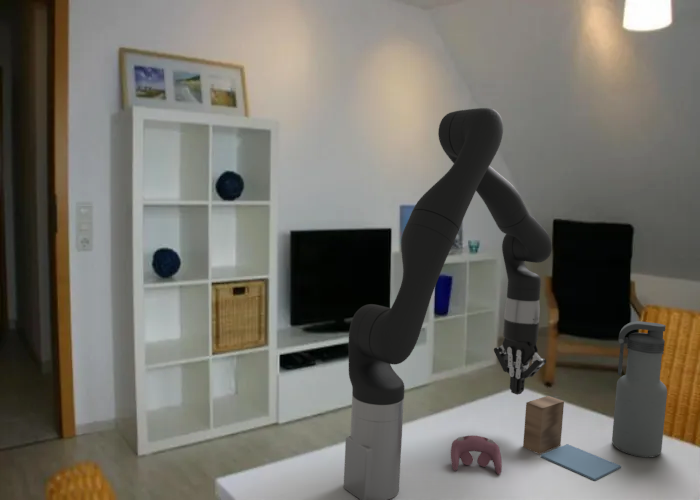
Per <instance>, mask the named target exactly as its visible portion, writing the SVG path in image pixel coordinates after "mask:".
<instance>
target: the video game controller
mask: <svg viewBox="0 0 700 500" xmlns="http://www.w3.org/2000/svg"><path fill="white" fill-rule="evenodd" d="M471 452H479V453H480V454H479V455H478V456H477V464H478V465H479V466H480V467H484V468H485V467H487V466H488V465H489V463H490V462H491V461H492V463H493V466H494V469H495V470H494V471H495V473H496V474H497V475H500V474H501V473H502V469H503V467H502V466H503V465H502V454H501V449H500V447H499V445H498V443H497V442H496V441H494V440H493V439H491V438H488V437H485V436H480V435H466V436H459V437H458V438H456V439H454V440H453V441H452V444H451V448H450V461H451V467H452V470H453V471H454V472H455V471H457V470H458V468H459V466H460V460H461V463H462V464H463V465H466V466H470V465H472V464H473V462H474V456H473V455H472V454H471Z"/></svg>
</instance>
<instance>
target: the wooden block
mask: <svg viewBox="0 0 700 500" xmlns="http://www.w3.org/2000/svg"><path fill="white" fill-rule="evenodd" d="M564 405H565V400H561V399H559V398H555V397H553V396H550V395H546V396H543V397H539V398H536V399H533V400H530V401H527V402H525V414H524V415H525V418H524V431H523V443H522V448H524V449H527V450H529V451H531V452H533V453H536V454H538V455H542V454H544V453H546V452H549V451H551V450H554V449H556V448H559V447H561V443H562V431H563V419H564V407H565V406H564Z"/></svg>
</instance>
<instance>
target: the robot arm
mask: <svg viewBox="0 0 700 500" xmlns="http://www.w3.org/2000/svg"><path fill="white" fill-rule="evenodd" d="M503 134H504V122H503V118H502V116H501V114H500V113H499V112H498V111H497V110H496V109H493V108H488V107H480V108H469V109H462V110H460V109H459V110H456V111H451V112H448V113H446V114H445V115H444V116H443V117H442V118H441V120H440V123H439V126H438V135H437V136H438V141H439V144H440V145H441V148H442V149H443V152H444V153H445V154H446V156H447V157H448V159H449V160H450V161H451V162H452V163H453V164H452V166H451V167H450V168H449V170H448V171H447V172H446V173H445V174H444V175H443V176H441V178H440V179H439V180H437V182H436V183H434V184H433V185H432V186H431V187H430V188H429V189H428V190H427V191H426V192H425V193H424V194H423V195H422V196H421V197H420V199H419V200H418V201H417V203H416V204H415V206H414V207H413V209H412V211H411V214H410V216H409V217H408V220H407V222H406V224H405V226H404V229H403V231H402V236H401V238H400V239H401V242H400V245H401V246H400V247H401V249H400V251H401V258H402V259H401V260H402V271H403V272H402V280H401V283H400V287H399V289H398V293H397V295H396V297H395V299H394V302H393V303H392V305H391V307H387V306H384V305H379V304H373V303H370V304H365V305H363V306H361V307H360V308H358V309H357V311H355V313H354V315H353V316H352V319H351V322H350V325H349V329H348V330H349V331H348V376H349V377H348V378H349V380H350V381H349V382H350V384H351V389H352V394H351V396H352V397H351V398H352V399H351V416H350V434H349V436H347V437H346V438H345V445H344V446H345V447H344V469H343V472H344V475H343V488H344V489H345V490H346V491H347V492H349V493H351V495H353V496H355V497H356V498H357V499H359V500H390V499H393V498H395V497H396V496H397V495H398V494H399V492H400V477H401V476H400V475H401V458H402V442H403V438H402V437H403V423H404V422H403V421H404V405H405V404H404V403H405V383H404V380H402V378H401V377H400V376H399V375H398V374H397V373H396V371H395V370H394V368H393V367H392V365H395V366H396V365H399V364H401V363H403V362H405V361H406V360H407V359H408V358H409V357H410V356H411V354H412V352H413V350H414V349H415V348H416V347H415V346H417V343H418V339H419V337H420V333H421V332H422V327H423V325H424V322H425V319H426V314H427V311H428V309H429V305H430V302H431V299H432V296H433V293H434V291H435V287H436V286H437V283H438V280H439V277H440V275H441V272H442V270H443V269H444V268H443V267H444V265H445V262H446V260H447V258H448V256H449V253H450V252H451V250H452V247H453V245H454V243H455V241H456V238H457V236H458V233H459V231H460V228H461V226H462V224H463V220H464V218H465V215H466V214H467V212H468V209H469V206H470V205H471V202H472V200H473V198H474V196H475V193H477V194H478V195H479V196H480V198H481V200H482V201H483V202H484V204H485V206H486V208H487V209H488V211H489V213H490V215H491V217H492V219H493V221H494V222H495V224H496V226H497V228H498V229H499V231H501V232H502V233H503V234H504V237H503V240H502V244H501V245H502V246H501V248H502V249H501V250H502V256H503V261H504V266H505V271H506V276H507V290H506V291H507V293H506V302H505V305H504V317H503V333H502V335H503V337H504V338H503V341H502V344H501V345H499V346H498V347H494V348H493V352H494V354H495V357H496V358H497V360H498V363H499V365H500V366H501V368H502V370H503V372H504V373H508V374H509V376H510V381H509V389H510V392H511V394H514V395H520V394H522V393H523V392H524V390H525V382H526V381H525V380H526V379H527V378H532V377H534V376H535V375H536V373H538V372H539V370H541V369H542V368H543V367H544V365H546V363H547V359H545V358H542V356H540V355H539V352H538V351H539V349H538V345H537V342H538V340H539V330H540V329H539V327H540V326H539V325H540V314H541V306H540V296H541V295H540V294H541V285H542V284H541V282H542V281H541V277H540V275H539V274H537V273H535V272H533V271H531V270H529V269H528V268H527V265H526V263H525V262H529V263H537V264H540V263H543V262H545V261H546V260H547V259H549V257H550V256H551V254H552V249H553V245H552V244H553V242H552V238H551V237H550V234H549V233H548V232H547V230H546V229H545V227H544V226H543V225H542V224H541V223H539V222H538V220H537V219H536V218H535V217H534V216H532V214H531V213H530V212H529V210H528V208H527V206H526V204H525V202H524V200H523V198H522V196H521V194H520V193H519V191H518V189H516V187H515V186H514V185H513V184H512V183H511V182H510V181H509V180H508V179H506V178H505V177H504V176H503V175H502V174H500V173H499V172H498V171H497V170H495V168H493V167H492V166H491V164H492V162H493V161H494V158H495V156H496V155H497V152H498V151H499V148H500V145H501V143H502V139H503ZM530 362H531V365H530Z"/></svg>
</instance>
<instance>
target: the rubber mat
mask: <svg viewBox="0 0 700 500" xmlns="http://www.w3.org/2000/svg"><path fill="white" fill-rule="evenodd" d="M540 458H542V459H545V460H546V461H550V462H551V463H553V464H556V465H557V466H560V467H563V468H565V469H567V470H570V471H572V472H573V473H576V474H578V475H581V476H582V477H586V478H587V479H590V480H592V481H593V482H594V481H598V480H599V479H601V478H603V477H605V476H607V475H609V474H611V473H613V472H615V471H617V470H619V469H621V468H622V465H621V464H618V463H617V462H616V463H615V462H612V461H610V460H608V459H606V458H604V457H601V456H597V455H596V454H593V453H591V452H588V451H586V450H583V449H580V448H579V447H575V446H573V445H570V444H569V443H566V444H564V445H562V446H561V445H560V446H558V447H555V448H553V449H551V450H548V451H546V452H543V453H541V454H540Z"/></svg>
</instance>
